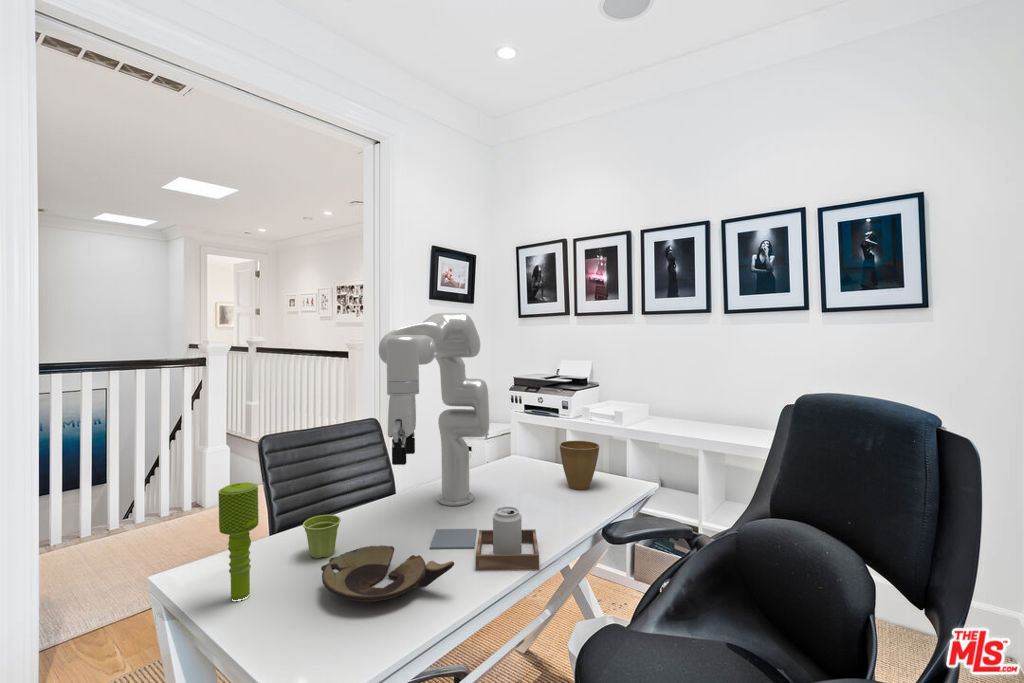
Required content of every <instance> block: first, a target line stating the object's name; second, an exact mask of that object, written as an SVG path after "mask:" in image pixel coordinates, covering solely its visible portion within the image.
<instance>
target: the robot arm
mask: <svg viewBox="0 0 1024 683" xmlns="http://www.w3.org/2000/svg"><path fill="white" fill-rule="evenodd" d="M378 345H379V346H378V355H379V358H380V360H381V361H382V362H383V363H385V364H386V395H387V396H389V400H388V409H387V410H388V411H387V437H388V438H391V464H392V465H393V466H404V465H406V464H407V455H414V454H415V453H416V437H415V434H416V433H415V430H416V427H417V415H416V414H417V411H416V410H417V409H416V408H417V405H416V404H417V403H416V395H420V369H419V368H420V366H421V365H428V364H430V363H431V362H433V361H434V360H436V362H437V363H438V366H439V371H440V372H439V373H440V389H441V390H440V392H441V400H442V403H443V404H444V405H446V406H449V407H465V408H451V409H449V408H448V409H445V410H443V411H442V412H441V413H440V414H439V416H438V420H437V421H438V430H439V435H440V443H441V445H440V446H441V448H440V449H441V450H440V451H441V493H440V494H439V495H437V502H438V503H439V504H441V505H444V506H453V507H456V506H463V505H464V506H465V505H467V504H469V503H473V501H474V500H475V496H474V494H473V493H472V492H470V449H469V445H468V443H467V442H466V441H465V439H464V438H483V437H485V436H487V435H488V433H489V430H490V407H489V406H490V404H489V388H488V384H487V382H486V381H485V380H484V379H481V378H467V377H466V365H465V361H464V360H463V359H462V358H475V357H477V356H478V355H479V353H480V350H481V339H480V335H479V333H478V330H477V328H476V325H475V322H474V321H473V319H472V318H471V316H470V315H469V314H467V313H464V312H441V313H439V312H438V313H434V314H432V315H430V316H429V317H428V318H426V319H425V320H423V321H422V322H419V323H415V324H410V325H407V326H403V327H399V328H396V329H393V330H391V331H389V332H388V333H386V334H385V335H384V336H383V337H382V338H381V340H380V343H379V344H378ZM466 407H468V408H469V407H471V408H473V409H471V408H469V409H468V408H467V409H466Z"/></svg>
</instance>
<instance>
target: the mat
mask: <svg viewBox="0 0 1024 683" xmlns="http://www.w3.org/2000/svg"><path fill="white" fill-rule="evenodd" d="M477 532H478V528H436V529H435V531H434V533H433V537H432V540H431V542H430V546H429V550H464V549H467V550H469V549H471V550H474V549H475V545H476V538H477Z"/></svg>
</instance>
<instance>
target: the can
mask: <svg viewBox="0 0 1024 683" xmlns="http://www.w3.org/2000/svg"><path fill="white" fill-rule="evenodd" d="M494 512H495V513H494V514H493V515H492V530H493V544H492V550H493V551H492V554H523V553H522V545H523V543H522V530H523V529H522V514H521V513H520V510H519V508H517V507H515V506H507V505H506V506H500V507H498V508H496V509H495V511H494Z"/></svg>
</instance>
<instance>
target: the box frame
mask: <svg viewBox="0 0 1024 683" xmlns="http://www.w3.org/2000/svg"><path fill="white" fill-rule="evenodd" d="M476 544H477V545H476V552H475V571H512V570H514V571H516V570H517V571H518V570H519V571H521V570H528V571H529V570H537V571H538V570H540V553H539V546H538V545H539V544H538V539H537V530H536V528H535V529H522V544H532V547H533V549H532V550H533V553H521V554H494V553H492V554H491V553H490V554H482V547H483V544H485V545H486V544H487V545H489V544H491V545H493V529H479V530H478V538H477V543H476Z"/></svg>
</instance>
